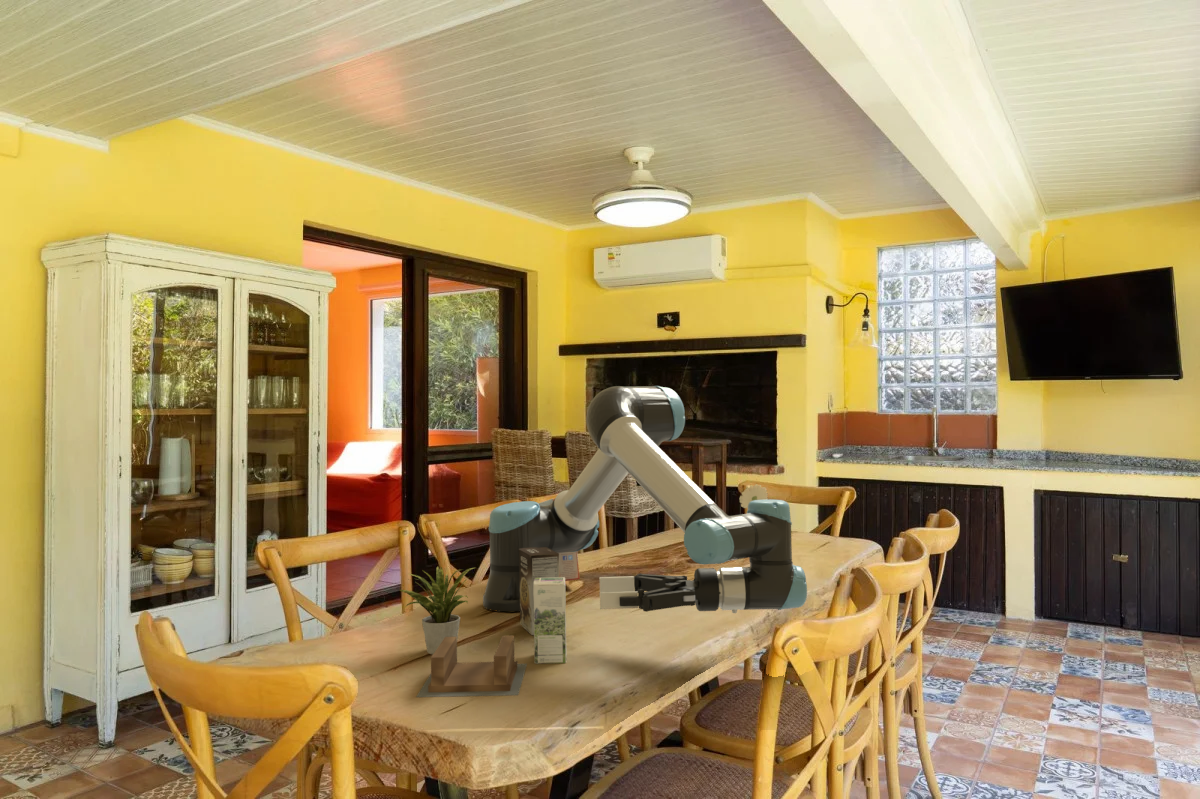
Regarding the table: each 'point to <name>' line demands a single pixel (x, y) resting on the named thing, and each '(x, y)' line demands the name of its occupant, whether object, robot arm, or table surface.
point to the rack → (472, 669)
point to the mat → (513, 691)
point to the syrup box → (549, 620)
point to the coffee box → (531, 567)
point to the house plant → (439, 608)
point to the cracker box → (566, 558)
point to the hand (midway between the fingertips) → (599, 592)
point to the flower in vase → (753, 495)
